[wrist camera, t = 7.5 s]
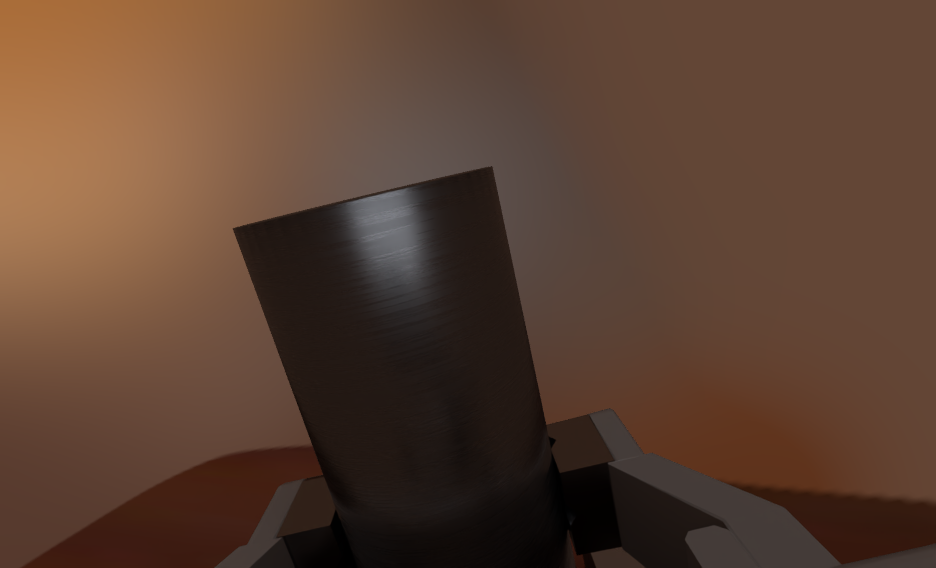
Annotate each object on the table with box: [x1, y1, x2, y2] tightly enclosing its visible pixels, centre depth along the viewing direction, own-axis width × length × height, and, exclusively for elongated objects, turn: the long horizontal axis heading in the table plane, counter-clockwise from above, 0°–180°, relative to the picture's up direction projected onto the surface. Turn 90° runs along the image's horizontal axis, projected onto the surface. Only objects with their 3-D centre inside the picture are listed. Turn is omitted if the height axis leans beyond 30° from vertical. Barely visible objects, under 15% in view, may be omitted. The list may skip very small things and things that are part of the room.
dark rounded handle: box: [233, 166, 576, 568], centre depth 9 cm, size 4×4×14 cm
